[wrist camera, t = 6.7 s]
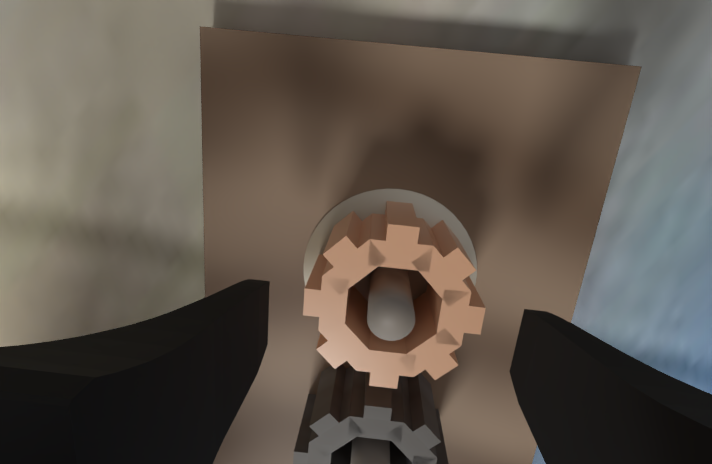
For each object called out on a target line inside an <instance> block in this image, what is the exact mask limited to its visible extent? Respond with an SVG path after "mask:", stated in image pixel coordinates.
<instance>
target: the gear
mask: <svg viewBox="0 0 712 464" xmlns="http://www.w3.org/2000/svg"><path fill="white" fill-rule="evenodd" d="M378 266H379V267H389V268H398V269H408V270H417V271H419V272H420V273H421V274H422V276H423V277H424V278H425V279H426V280H427V282H428V283H427V290H426V292H425V293H423V294H422V295H420V296H419V297H418V298H416V299H415V300H413V306H414V312H415V325H414V328H413V330H412V331H411V332H410V333H409V334H408V335H407V336H406V337H404V338H402V339H400V340H395V341H388V340H383V339H381V338H379V337H377V336H376V335H374V334H373V333H372V331H371V330H370V328H369V326H368V323H367V314H368V301H367V300H366V299H365V298H364V297H363V296H362V294H361V293H360V292H359V291H358V290H357V289H356V288H355V287H354V286H353V285H354V284H356V283H357V282H358V281H360V280H361V279H362V278H364V277H365V276H366V275H368V274H369V273H370V272H372V271H373V270H374V269H376V268H377V267H378ZM475 271H476V269H475V267H474V265H473V264H472V262H471V260H470V258H469V257H468V255H467V253H466V252H465V250H464V248H463V246H462V245H461V243H460V241H459V240H458V238H457V237H456V236H455V234H454V233H453V232H452V231H451V229H450V228H449V227H448V226H447V224H446V223H445V222H444V221H443V220H442V221H440V222H439V223H438V224H436V225H435V226H434V227H432V228H431V227H430V226H429V225H428V223H427V222H426V221H425V220H424V219H423V218H417V217H416V214H415V211H414V208H413V204H412V203H403V202H393V201H386V210H385V215H384V214H374V213H372V214H370V215H369V216H368V217H367V218H365V219H364V220H363V221H361V219H360V218H359V217H358V216H357V215H356V213H355V212H354V211H352V212H351V213H349V214H348V215H347V216H346V217H344V218H343V219H342V220H341V221H339V222H338V223H337V224H336V225H335V226H334V227H333V230H332V232H331V235H330V237H329V240H328V242H327V245H326V247H325V250H324V252H323V255H322V254H319V255H318V258H317V260H316V262H315V265H314V267H313V270H312V272H311V274H310V277H309V279H308V281H307V284H306V286H305V288H304V306H303V315H305V316H314V317H319V327H318V330H319V332H320V337H319V340H318V344H317V348H316V350H317V351H318V352H319V353H320V354H321V355H322V356H323V357H324V358H325V359H326V360H327V361H328V362H329V364H330V365H331V366H332V367H333V368H334V369H336V368H337V367H338V366H340V365H341V364H343V363H344V362H346V361H347V362H348V363H349V364H350V365H351V366H352V367H353V368H354V369H355V370H357V371H363V372H370V376H369V386H377V387H385V388H394V389H397V386H398V379H399V376H408V377H415V376H416V375H418V374H419V373H421V372H422V371H424V370H426V371H427V372H428V373H429V374H430V375H431V376H432V378H433V379H434V380H436V379H438V378H439V377H441V376H443V375H444V374H446V373H447V372H449V371H450V370H452V369H454V368H455V367H457V366H458V362H457V358H456V355H455V352H454V351H455V350H456V349H458V348H459V347H461V345H462V340H463V334H464V333H470V334H479V335H480V334H481V329H482V324H483V319H484V314H485V309H486V307H485V305H484V303H483V302H482V300H481V298H480V296H479V294H478V292H477V290H476V288H475V286H474V284H473V282H472V280H471V278H470V277H469V275H471V274H472V273H474V272H475Z"/></svg>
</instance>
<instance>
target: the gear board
mask: <svg viewBox="0 0 712 464" xmlns="http://www.w3.org/2000/svg"><path fill="white" fill-rule="evenodd" d="M200 50H201V103H202V155H203V208H204V260H205V298H206V297H208V296H210V295H212V294H214V293H216V292H219V291H221V290H223V289H225V288H227V287H229V286H232V285H234V284H236V283H238V282H241V281H243V280H247V279H254V280H263V281H270V286H269V317H268V345H267V348H266V351H265V354H264V357H263V360H262V362H261V365H260V368H259V371H258V373H257V375H256V378H255V380H254V382H253V384H252V385H251V387H250V389H249V391H248V393H247V395H246V397H245V399H244V401H243V403H242V405H241V407H240V409H239V411H238V413H237V415H236V417H235V419H234V420H233V422H232V424H231V426H230V428H229V430H228V432H227V434H226V436H225V438H224V440H223V442H222V444H221V446H220V448H219V451H218V453H217V455H216V457H215V460H214V462H213V464H532V461H533V457H534V454H535V450H536V447H537V443H536V441H535V439H534V437H533V435H532V432H531V430H530V428H529V426H528V424H527V421H526V419H525V417H524V415H523V412H522V410H521V408H520V406H519V403H518V400H517V397H516V393H515V390H514V387H513V383H512V379H511V376H510V372H509V371H510V367H511V363H512V359H513V354H514V350H515V346H516V342H517V337H518V333H519V329H520V325H521V321H522V316H523V312H524V309H529V310H538V311H547V312H549V313H552V314H554V315H556V316H558V317H561V318H562V319H564V320H566V321H568V322H570V323H571V320H572V316H573V313H574V309H575V305H576V302H577V298H578V295H579V291H580V287H581V284H582V280H583V277H584V273H585V269H586V266H587V262H588V258H589V255H590V251H591V248H592V244H593V240H594V237H595V233H596V229H597V226H598V222H599V219H600V215H601V211H602V208H603V204H604V201H605V197H606V193H607V190H608V186H609V182H610V179H611V175H612V172H613V168H614V164H615V161H616V157H617V154H618V150H619V146H620V143H621V139H622V135H623V132H624V128H625V125H626V121H627V117H628V114H629V110H630V106H631V103H632V99H633V96H634V92H635V88H636V85H637V81H638V78H639V74H640V70H641V67H639V66H628V65H617V64H606V63H595V62H584V61H573V60H562V59H551V58H540V57H529V56H518V55H507V54H496V53H485V52H475V51H464V50H453V49H442V48H431V47H420V46H409V45H398V44H387V43H376V42H365V41H354V40H343V39H332V38H321V37H310V36H299V35H288V34H277V33H266V32H255V31H244V30H233V29H222V28H211V27H200ZM386 201H393V202H403V203H412V204H413V208H414V211H415V214H416V217H417V218H423V219H424V220H425V221H426V222H427V223H428V225H429V226H430V227H431V228H432V227H434V226H435V225H436V224H438V223H439V222H440V221H442V220H443V221H444V222H445V223H446V224H447V226H448V227H449V228H450V229H451V231H452V232H453V233H454V234H455V236H456V237H457V238H458V240H459V241H460V243H461V245H462V246H463V248H464V250H465V252H466V253H467V255H468V257H469V258H470V260H471V262H472V264H473V265H474V267H475V269H476V271H475V272H474V273H472V274H471V275H469V277H470V278H471V280H472V282H473V284H474V286H475V288H476V290H477V292H478V294H479V296H480V298H481V300H482V302H483V303H484V305H485V307H486V309H485V314H484V319H483V324H482V329H481V334H480V335H479V334H470V333H464V334H463V340H462V345H461V347H459V348H458V349H456V350H455V351H454V352H455V355H456V358H457V362H458V366H457V367H455V368H454V369H452V370H450V371H449V372H447V373H446V374H444V375H443V376H441V377H439V378H438V379H436V380H434V379H433V378H432V376H431V375H430V374H429V373H428V372H427V371H426V370H424V371H422V372H421V373H419V374H418V375H416V376H415V377H408V376H399V379H398V386H397V389H394V388H385V387H377V386H369V376H370V372H363V371H357V370H355V369H354V368H353V367H352V366H351V365H350V364H349V363H348V362H347V361H346V362H344V363H343V364H341V365H340V366H338V367H337V368H336V369H334V368H333V367H332V366H331V365H330V364H329V362H328V361H327V360H326V359H325V358H324V357H323V356H322V355H321V354H320V353H319V352H318V351H317V350H316V348H317V344H318V340H319V337H320V332H319V330H318V327H319V317H314V316H305V315H303V306H304V288H305V286H306V284H307V281H308V279H309V277H310V274H311V272H312V270H313V267H314V265H315V262H316V260H317V258H318V255H319V254H322V255H323V252H324V250H325V247H326V245H327V242H328V240H329V237H330V235H331V232H332V230H333V227H334V226H335V225H336V224H337V223H338V222H339V221H341V220H342V219H343V218H344V217H346V216H347V215H348V214H349V213H351V212H352V211H354V212H355V213H356V215H357V216H358V217H359V218H360V219H361V221H363V220H364V219H365V218H367V217H368V216H369V215H370V214H372V213H374V214H384V215H385V210H386ZM427 283H428V282H427V280H426V279H425V278H424V277H423V276H422V274H421V273H420V272H419V271H417V270H408V269H398V268H389V267H379V266H378V267H377V268H376V269H374V270H373V271H372V272H370V273H369V274H368V275H366V276H365V277H364V278H362V279H361V280H360V281H358V282H357V283H356V284H354V285H353V286H354V287H355V288H356V289H357V290H358V291H359V292H360V293H361V294H362V296H363V297H364V298H365V299H366V300H367V301H368V314H367V323H368V326H369V328H370V330H371V331H372V333H373V334H374V335H376V336H377V337H379V338H381V339H383V340H388V341H395V340H400V339H402V338H404V337H406V336H407V335H408V334H409V333H410V332H411V331H412V330H413V328H414V325H415V312H414V306H413V300H415V299H416V298H418V297H419V296H420V295H422V294H423V293H425V292H426V290H427Z"/></svg>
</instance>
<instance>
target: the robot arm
mask: <svg viewBox="0 0 712 464" xmlns="http://www.w3.org/2000/svg"><path fill="white" fill-rule="evenodd" d="M269 286H270V281H263V280H254V279H247V280H243V281H241V282H238V283H236V284H234V285H232V286H229V287H227V288H225V289H223V290H221V291H219V292H216V293H214V294H212V295H210V296H208V297H206V298H203V299H201V300H199V301H196V302H194V303H191V304H189V305H187V306H184V307H182V308H179V309H177V310H174V311H172V312H169V313H167V314H164V315H161V316H158V317H155V318H152V319H149V320H146V321H142V322H139V323H136V324H132V325H129V326H125V327H121V328H116V329H112V330H108V331H103V332H99V333H94V334H90V335H86V336H80V337H75V338H69V339H63V340H57V341H50V342H43V343H36V344H28V345H19V346H8V347H0V464H213V462H214V460H215V457H216V455H217V453H218V451H219V448H220V446H221V444H222V442H223V440H224V438H225V436H226V434H227V432H228V430H229V428H230V426H231V424H232V422H233V420H234V419H235V417H236V415H237V413H238V411H239V409H240V407H241V405H242V403H243V401H244V399H245V397H246V395H247V393H248V391H249V389H250V387H251V385H252V384H253V382H254V380H255V378H256V375H257V373H258V371H259V368H260V365H261V362H262V360H263V357H264V354H265V351H266V348H267V345H268V317H269ZM509 372H510V376H511V379H512V383H513V387H514V390H515V393H516V397H517V400H518V403H519V406H520V408H521V410H522V412H523V415H524V417H525V419H526V421H527V424H528V426H529V428H530V430H531V432H532V435H533V437H534V439H535V441H536V443H537V445H538V448H539V450H540V452H541V454H542V456H543V458H544V461H545V463H546V464H712V394H709V393H707V392H704V391H702V390H700V389H697V388H695V387H693V386H691V385H688V384H686V383H684V382H682V381H679V380H677V379H675V378H673V377H670V376H668V375H666V374H664V373H662V372H660V371H658V370H656V369H654V368H652V367H650V366H648V365H646V364H644V363H642V362H640V361H638V360H636V359H634V358H633V357H631V356H629V355H627V354H625V353H623V352H621V351H620V350H618V349H616V348H614V347H612V346H611V345H609V344H607V343H605V342H603V341H602V340H600V339H598V338H596V337H595V336H593V335H591V334H589V333H588V332H586V331H584V330H582V329H581V328H579V327H577V326H575V325H574V324H572V323H570V322H568V321H566V320H564V319H562V318H561V317H558V316H556V315H554V314H552V313H549V312H547V311H538V310H529V309H524V312H523V316H522V321H521V325H520V329H519V333H518V337H517V342H516V346H515V350H514V354H513V359H512V363H511V367H510V371H509Z"/></svg>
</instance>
